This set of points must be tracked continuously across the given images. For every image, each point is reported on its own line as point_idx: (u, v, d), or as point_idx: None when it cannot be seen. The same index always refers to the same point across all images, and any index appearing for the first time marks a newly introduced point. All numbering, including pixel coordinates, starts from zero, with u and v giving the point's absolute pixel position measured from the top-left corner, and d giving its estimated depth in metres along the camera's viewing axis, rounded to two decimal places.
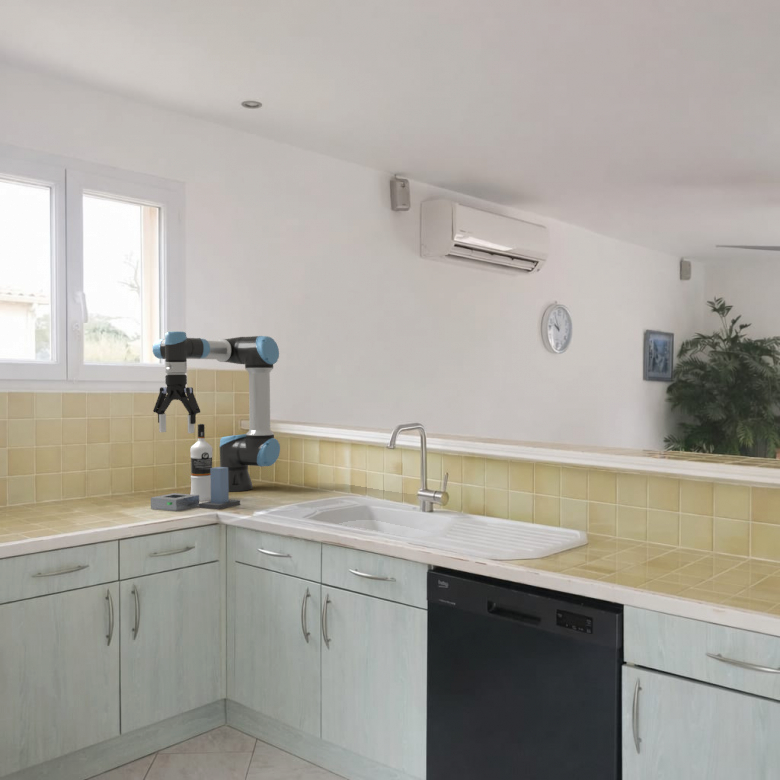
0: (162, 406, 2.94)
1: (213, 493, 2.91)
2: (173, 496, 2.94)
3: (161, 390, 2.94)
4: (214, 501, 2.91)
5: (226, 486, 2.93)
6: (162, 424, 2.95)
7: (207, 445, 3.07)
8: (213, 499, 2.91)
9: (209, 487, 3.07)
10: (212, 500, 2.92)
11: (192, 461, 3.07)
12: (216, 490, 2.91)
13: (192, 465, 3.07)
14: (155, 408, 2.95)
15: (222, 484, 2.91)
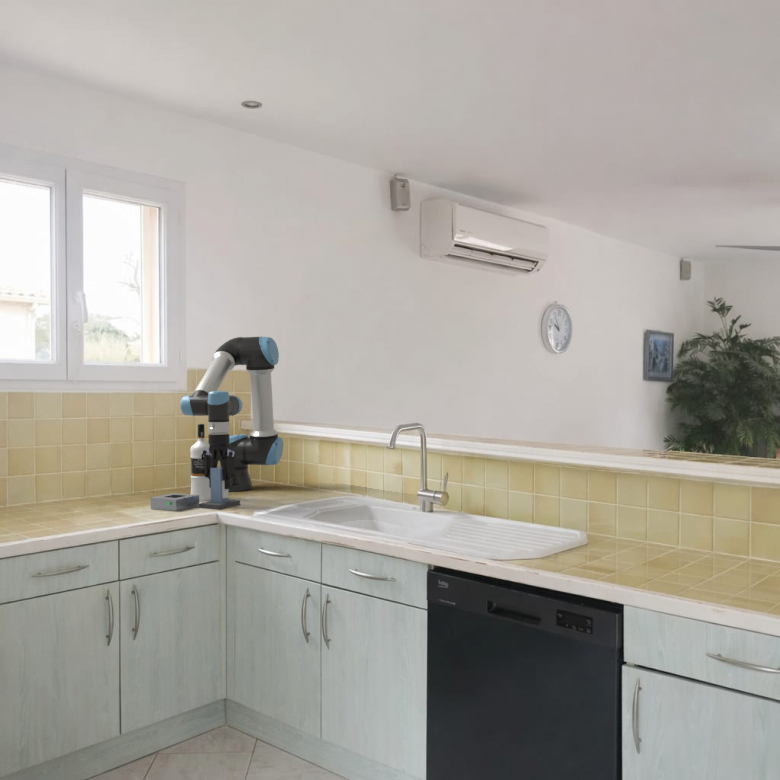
0: None
1: (213, 493, 2.91)
2: (173, 496, 2.94)
3: (204, 453, 2.94)
4: (214, 501, 2.91)
5: None
6: None
7: (207, 445, 3.07)
8: (213, 499, 2.91)
9: (209, 487, 3.07)
10: (212, 500, 2.92)
11: (192, 461, 3.07)
12: (216, 490, 2.91)
13: (192, 465, 3.07)
14: (205, 473, 2.94)
15: None
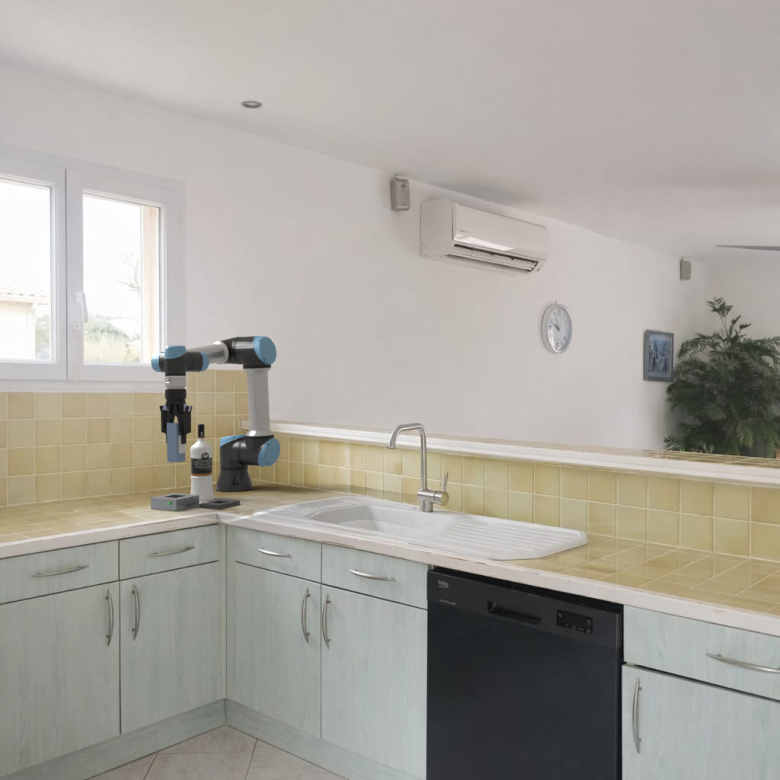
0: None
1: (169, 448, 2.89)
2: (173, 496, 2.94)
3: (161, 408, 2.92)
4: (170, 456, 2.89)
5: None
6: None
7: (207, 445, 3.07)
8: (169, 454, 2.89)
9: (209, 487, 3.07)
10: (168, 455, 2.89)
11: (192, 461, 3.07)
12: (172, 445, 2.88)
13: (192, 465, 3.07)
14: (162, 428, 2.92)
15: None
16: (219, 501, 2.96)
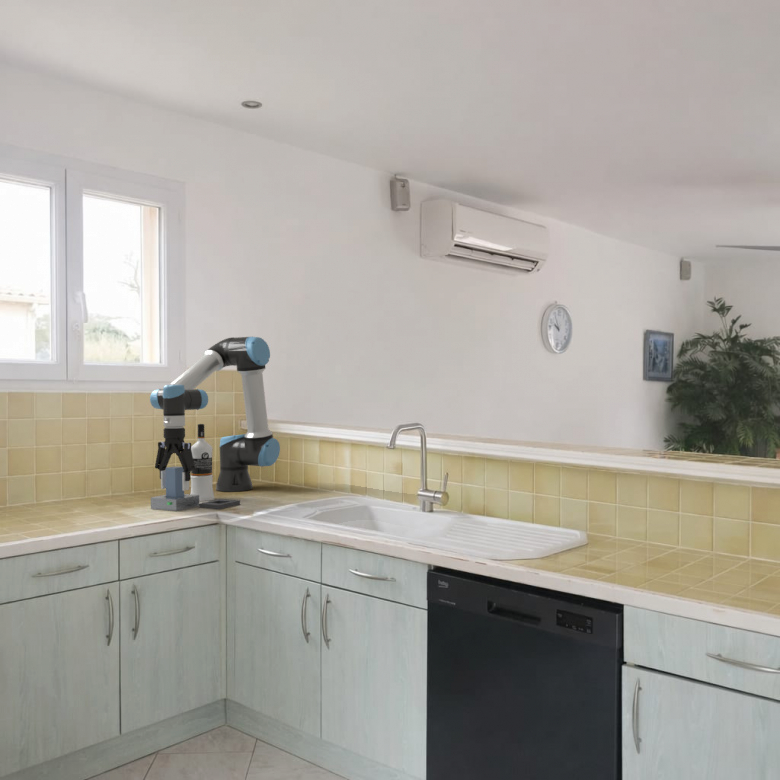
0: (163, 461, 2.92)
1: (168, 493, 2.89)
2: None
3: (159, 445, 2.92)
4: None
5: (181, 486, 2.91)
6: (164, 481, 2.93)
7: (207, 445, 3.07)
8: None
9: (209, 487, 3.07)
10: None
11: None
12: (171, 490, 2.89)
13: None
14: (156, 464, 2.93)
15: (177, 484, 2.89)
16: (219, 501, 2.96)
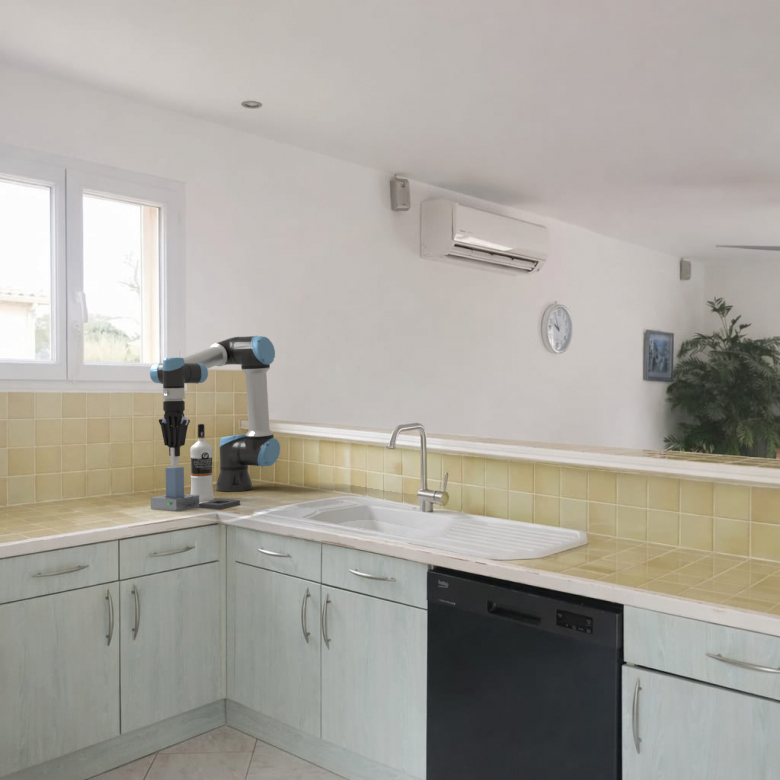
0: (169, 437, 2.90)
1: (168, 493, 2.89)
2: None
3: (160, 421, 2.92)
4: None
5: (181, 486, 2.91)
6: None
7: (207, 445, 3.07)
8: None
9: (209, 487, 3.07)
10: None
11: (192, 461, 3.07)
12: (171, 490, 2.89)
13: (192, 465, 3.07)
14: (165, 441, 2.91)
15: (177, 484, 2.89)
16: (219, 501, 2.96)
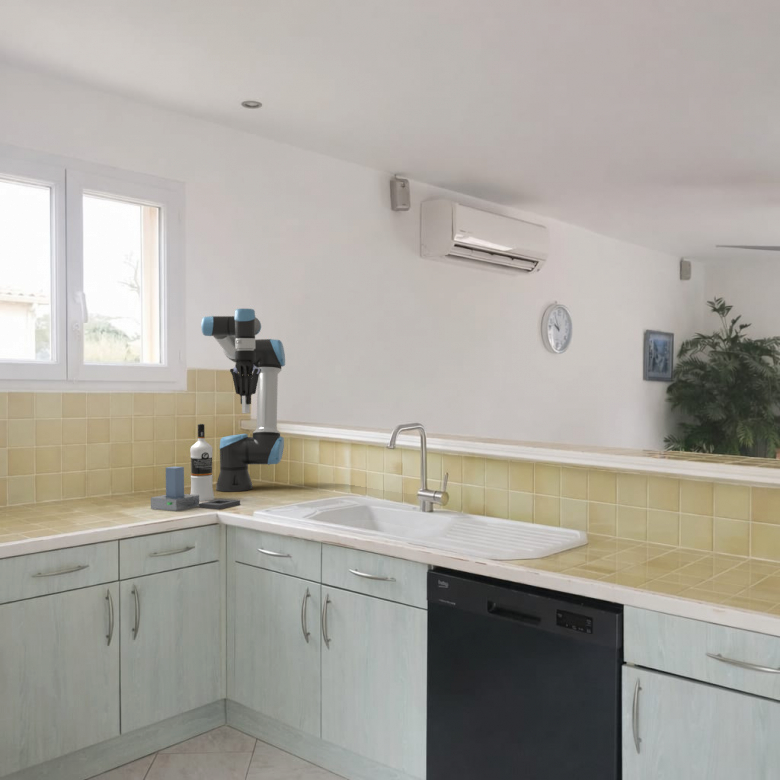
0: (241, 385, 3.01)
1: (168, 493, 2.89)
2: None
3: (232, 371, 3.02)
4: None
5: (181, 486, 2.91)
6: None
7: (207, 445, 3.07)
8: None
9: (209, 487, 3.07)
10: None
11: (192, 461, 3.07)
12: (171, 490, 2.89)
13: (192, 465, 3.07)
14: (236, 389, 3.02)
15: (177, 484, 2.89)
16: (219, 501, 2.96)
